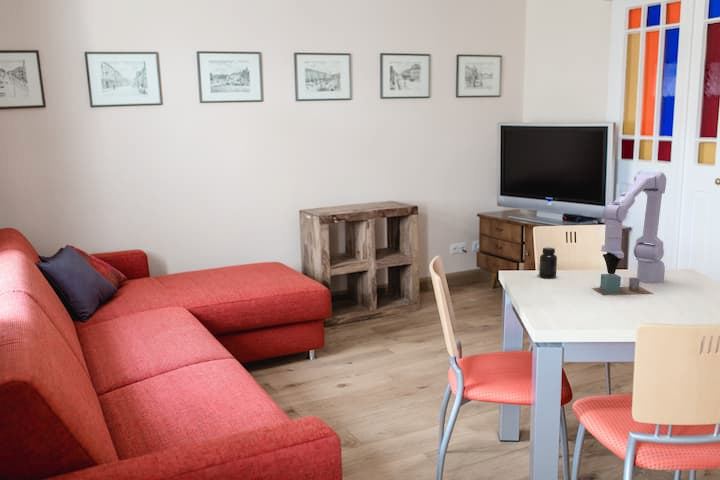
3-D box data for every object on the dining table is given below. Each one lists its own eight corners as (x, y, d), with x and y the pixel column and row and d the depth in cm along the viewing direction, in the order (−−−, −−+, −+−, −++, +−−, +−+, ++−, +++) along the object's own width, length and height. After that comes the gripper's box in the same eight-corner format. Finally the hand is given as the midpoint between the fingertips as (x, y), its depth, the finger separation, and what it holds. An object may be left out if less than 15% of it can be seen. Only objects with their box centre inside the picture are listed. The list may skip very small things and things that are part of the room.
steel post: (635, 289, 249) (636, 277, 248) (638, 291, 247) (639, 279, 246) (628, 289, 249) (629, 277, 248) (631, 291, 246) (632, 279, 246)
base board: (639, 288, 254) (639, 286, 254) (653, 295, 243) (654, 293, 243) (591, 289, 253) (591, 287, 252) (603, 297, 242) (603, 295, 242)
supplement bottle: (558, 278, 271) (559, 249, 269) (541, 278, 271) (542, 250, 269) (553, 274, 277) (554, 246, 275) (537, 275, 278) (538, 246, 275)
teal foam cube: (613, 289, 250) (614, 273, 249) (619, 292, 245) (620, 276, 244) (600, 289, 250) (601, 274, 249) (606, 293, 245) (607, 277, 244)
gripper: (594, 234, 251) (592, 269, 253) (611, 241, 236) (609, 278, 239) (612, 233, 251) (610, 268, 253) (630, 240, 237) (628, 277, 239)
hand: (611, 273), depth 246 cm, fingers closed
